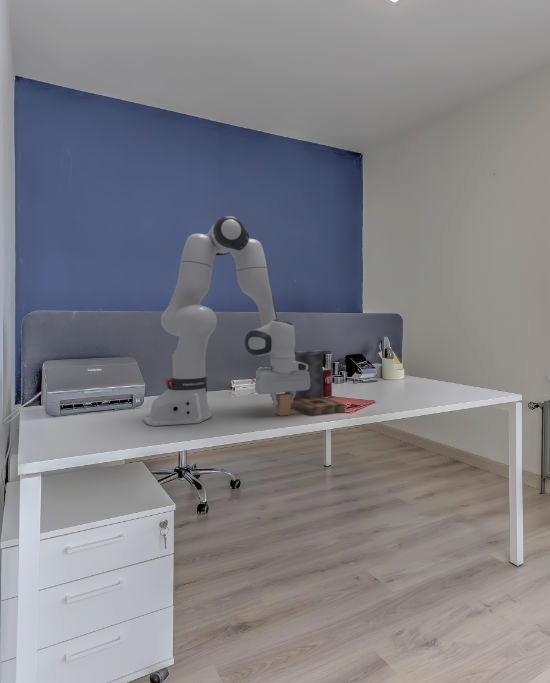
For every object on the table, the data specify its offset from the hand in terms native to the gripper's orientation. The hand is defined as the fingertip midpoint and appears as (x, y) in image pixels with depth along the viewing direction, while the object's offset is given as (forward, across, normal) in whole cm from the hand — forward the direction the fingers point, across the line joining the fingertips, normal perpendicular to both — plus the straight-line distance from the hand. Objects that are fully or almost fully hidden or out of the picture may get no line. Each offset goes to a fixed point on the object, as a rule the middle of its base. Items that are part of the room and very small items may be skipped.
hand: (283, 404), depth 164 cm
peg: (+3, 0, 0) cm, 3 cm away
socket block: (+3, +14, +2) cm, 15 cm away
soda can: (+4, +29, +22) cm, 37 cm away
